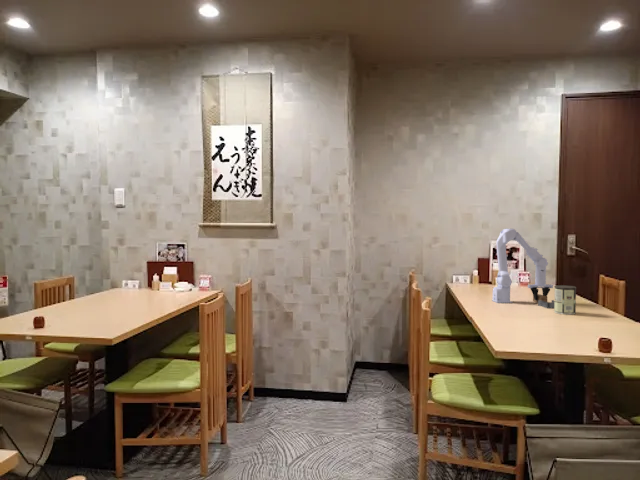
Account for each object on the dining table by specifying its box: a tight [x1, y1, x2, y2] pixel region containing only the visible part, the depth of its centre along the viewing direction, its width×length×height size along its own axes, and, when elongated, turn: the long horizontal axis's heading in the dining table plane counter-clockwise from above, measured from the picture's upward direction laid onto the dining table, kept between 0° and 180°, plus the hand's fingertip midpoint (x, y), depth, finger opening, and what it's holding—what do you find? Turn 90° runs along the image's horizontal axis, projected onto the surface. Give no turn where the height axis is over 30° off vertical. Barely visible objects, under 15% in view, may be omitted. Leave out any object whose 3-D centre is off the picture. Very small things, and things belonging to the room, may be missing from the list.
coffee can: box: [553, 284, 577, 316], centre depth 252 cm, size 10×10×14 cm
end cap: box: [537, 299, 555, 309], centre depth 270 cm, size 9×9×3 cm
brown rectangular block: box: [532, 293, 548, 304], centre depth 285 cm, size 10×4×4 cm, turn 3°
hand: (540, 300), depth 285 cm, fingers open, 5 cm apart
